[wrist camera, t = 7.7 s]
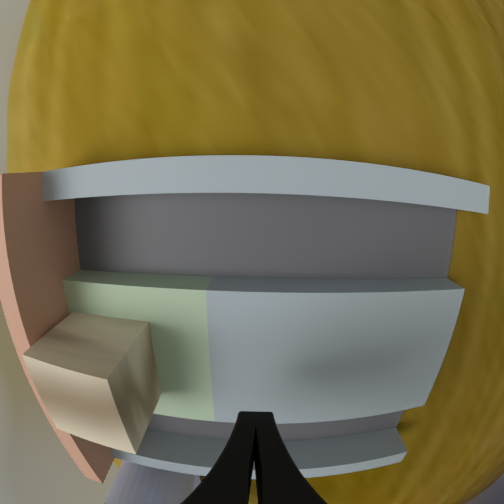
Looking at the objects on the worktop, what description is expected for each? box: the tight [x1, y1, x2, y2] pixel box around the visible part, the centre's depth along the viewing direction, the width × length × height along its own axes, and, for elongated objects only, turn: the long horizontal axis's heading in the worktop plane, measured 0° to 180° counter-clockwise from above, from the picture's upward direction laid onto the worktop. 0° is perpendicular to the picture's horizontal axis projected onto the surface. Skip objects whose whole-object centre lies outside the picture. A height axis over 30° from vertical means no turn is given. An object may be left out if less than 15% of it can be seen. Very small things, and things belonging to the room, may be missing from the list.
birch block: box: [22, 312, 162, 454], centre depth 12 cm, size 5×5×5 cm
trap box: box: [0, 155, 490, 484], centre depth 13 cm, size 21×24×6 cm
